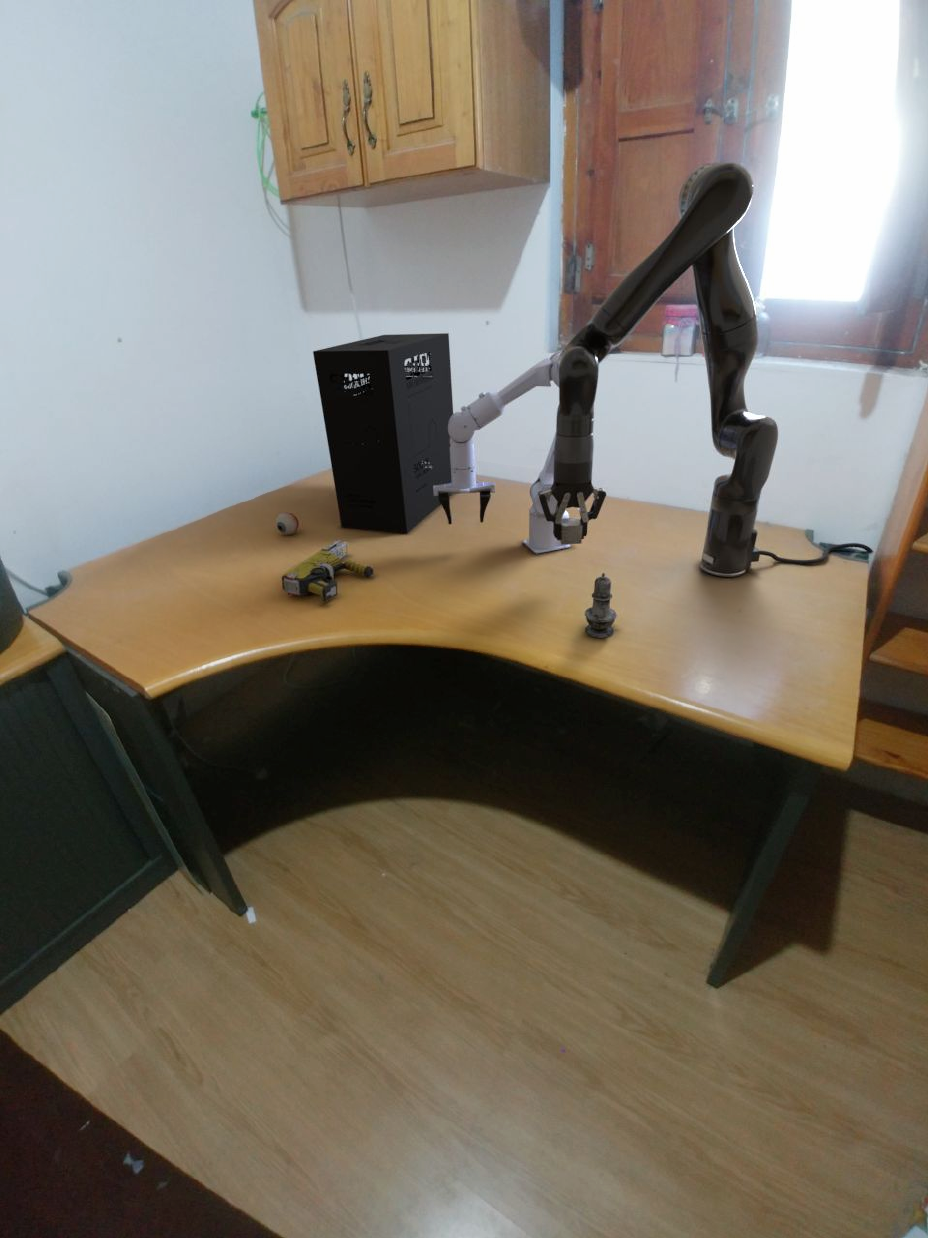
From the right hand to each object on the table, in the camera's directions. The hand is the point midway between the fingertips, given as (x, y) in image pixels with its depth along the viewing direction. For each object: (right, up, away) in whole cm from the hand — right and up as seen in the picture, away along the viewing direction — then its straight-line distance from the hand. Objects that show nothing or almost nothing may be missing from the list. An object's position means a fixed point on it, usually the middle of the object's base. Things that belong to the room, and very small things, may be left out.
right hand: (569, 538), depth 126 cm
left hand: (-22, +7, +21) cm, 31 cm away
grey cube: (0, 0, 0) cm, 0 cm away
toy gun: (-51, -8, +13) cm, 53 cm away
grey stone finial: (+3, -19, -12) cm, 23 cm away
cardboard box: (-40, +16, +54) cm, 69 cm away
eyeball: (-70, +6, +39) cm, 80 cm away
